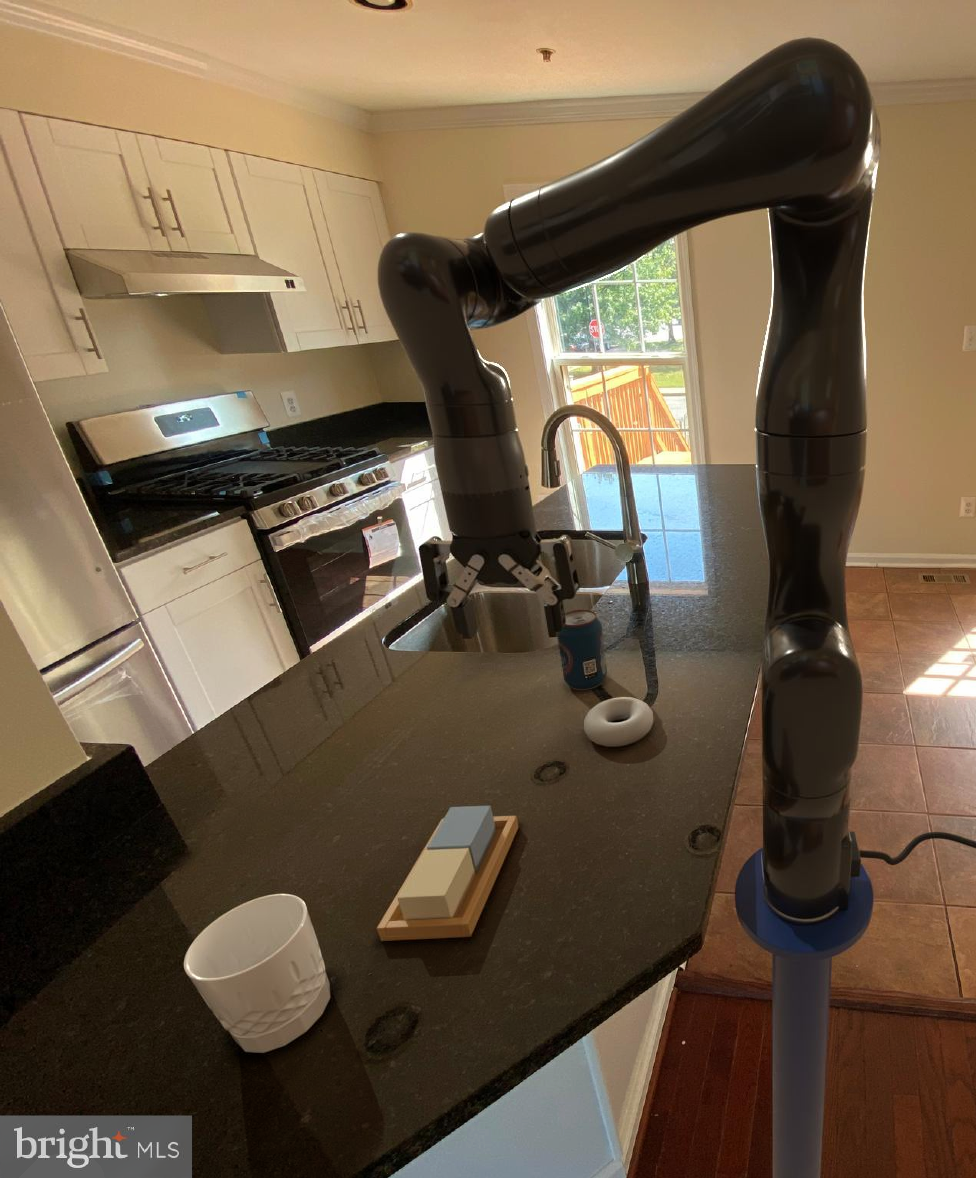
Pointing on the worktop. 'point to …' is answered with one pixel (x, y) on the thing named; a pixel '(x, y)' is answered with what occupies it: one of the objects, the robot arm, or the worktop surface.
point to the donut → (621, 732)
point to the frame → (472, 904)
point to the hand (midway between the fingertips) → (513, 634)
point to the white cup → (261, 971)
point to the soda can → (582, 650)
